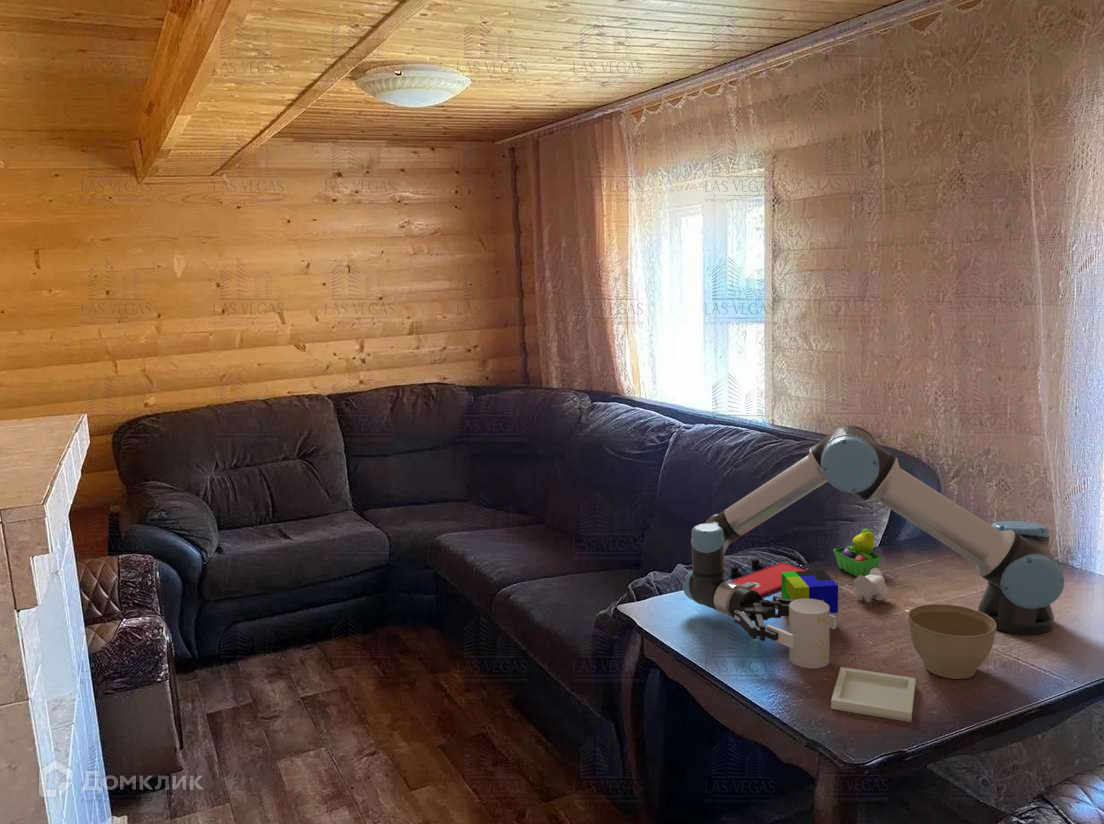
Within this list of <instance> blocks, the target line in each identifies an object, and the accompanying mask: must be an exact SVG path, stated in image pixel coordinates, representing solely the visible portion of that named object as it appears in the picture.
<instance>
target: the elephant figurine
mask: <svg viewBox="0 0 1104 824" xmlns="http://www.w3.org/2000/svg"><path fill="white" fill-rule="evenodd" d="M853 585H854V588H853V591H854V595H855V598H856V599H857V600H858V601H864V602H865V603H871V602H873V599H874V600H875V599H876V601H879V602H882V601H883V600H885V599H887V598H888V596H889V592H890V593H891V594H892V595H894V593H893V591H892V590H891V589H890V588H889V587H887V585H886V579H885V578H884V576H883V573H882V571H881V570H880V568H873V569H872V570H871V571H870V574H869V575H867V576H865V577H864V576H862V575H860V576H858V577H856V578H855V579H853Z"/></svg>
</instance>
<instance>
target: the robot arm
mask: <svg viewBox="0 0 1104 824" xmlns="http://www.w3.org/2000/svg"><path fill="white" fill-rule="evenodd" d="M825 483H829V484H830V485H831V486H832V487H834V488H835V489H837V490H838V491H840V492H845V493H851V494H853V495H855V496H857V497H858V498H860V499H861V500H863V501H864V502H872V501H877V502H878V503H880V504H882V505H883V506H884V507H886V508H888V509H889V510H891V511H893V512H894V513H896V514H897V515H899V516H900V517H902V518H903V519H905V520H907V521H908V522H909V523H911V524H913V525H914V526H915V527H917V528H919V529H920V530H922V531H923V532H925V533H926V534H927V535H930V536H931V537H933V538H934V539H936V540H938V541H940V542H941V543H942V544H944V545H945V546H946V547H948V548H950V549H952V550H953V551H955V552H956V553H957V554H960V555H961V556H962V557H964V558H965V559H966V560H969V561H970V562H971V563H973V564H975V566H976V573H977V574H978V575H979V576H980V577H982V578H983V579H985V580H986V581H987V586H986V588H985V590H984V593H983V596H982V597H981V600H980V602H979V605H978V609H977V611H980V612H982V613H984V614H986V615H988V616H989V617H991V618H992V619H993V620H994V621H995V622H996V631H997V630H998V631H1000V632H1005V633H1010V634H1017V635H1029V636H1030V635H1041V634H1045V633H1048V632H1051V631H1052V630H1053V629H1054V626H1055V616H1054V612H1053V609H1052V606H1051V604H1053V603H1054V602H1055V601H1057V600H1058V599H1059V597H1060V596H1061V594H1062V593H1063V591H1064V588H1065V577H1064V571H1063V568H1062V567H1061V565H1060V564H1059V562H1057V560H1056V558H1055V556H1054V554H1053V553H1052V552H1051V551H1050V547H1049V546H1050V545H1049V543H1050V539H1051V536H1050V530H1049V528H1048V527H1047V526H1046V525H1044V524H1041V523H1036V522H1030V521H1021V520H1020V521H1019V520H1000V521H995V522H993V523H992V524H989V523H988V522H986V521H985V520H983V519H981V518H980V517H979V516H977V515H975V514H974V513H972V512H970V511H969V510H967V509H966V508H964V507H963V506H961V505H959V504H958V503H956V502H955V501H953V500H952V499H950V498H948V497H946V496H945V495H944V494H942V493H941V492H939V491H937V490H936V489H934V488H932V487H931V486H929V485H928V484H926V483H924V482H923V481H921V480H920V479H918V478H916V476H913V475H912V474H911V473H908V472H907V471H906V470H904V469H903V468H901V466H900V465H899V460H898V457H897V456H895V455H893V454H892V453H890V452H889V451H888V450H885V449H884V448H882V447H881V446H880V445H878V443H877V441H876V439H875V438H874V435H872V434H871V432H869V431H868V430H867V429H865V428H864V427H862V426H861V427H860V426H858V425H844V426H840V427H838V428H836V429H834V430H833V431H832V432H830V433H829V434H828V435H827V436H825V437H824V438H823V439H821V441H819V442H818V443H816V444H815V445H813V446H812V447H810V448H809V451H808V455H806V456H805V457H803V458H801V459H800V460H799V461H797V462H795V463H794V464H793V465H791V466H790V467H787V468H786V469H785V470H783V471H781V473H779V474H777V475H776V476H774V477H773V478H771V479H770V480H768V481H766V482H765V483H764V484H762V485H760V486H759V487H758V488H756V489H754V490H753V491H751V492H750V493H748V494H747V495H746V496H744V497H742V498H741V499H740V500H738V501H736V502H734V503H733V504H732V505H730V506H729V507H727V508H725V509H724V510H723V511H721V512H720V513H716V514H713V515H711V516H710V517H709V518H707V519H706V520H705V522H704V523H700V524H697V525H695V526H694V527H692V529H691V539H690V545H691V563H692V564H691V565H692V566H691V567H692V569H691V570H690V571H689V572H688V573H686V575H685V577H684V581H683V582H682V589H683V593H684V594H685V596H686V597H687V598H688V599H689V600H692V601H694V602H695V603H696V604H699V605H702V606H704V607H707V608H710V609H712V610H715V611H717V612H719V613H722V614H725V615H726V616H728V617H731V618H733V619H734V621H733V622H734V623H735V624H737V625H739V626H740V627H741V628H742V629H743V631H745V632H746V633H747V635H748V636H749V637H750V638H751V639H752V640H758V637H759V641H760V642H765V641H766V638H767V640H768V639H769V640H771V641H774V642H776V643H778V644H781V645H783V646H785V647H788V648H789V647H790V648H792V647H794V635H793V634H791V633H789V631H786V630H783V629H781V628H779V627H777V626H773V625H771V624H767V625H766V624H765V621H768V620H769V619H781V618H782V617H785V616H788V617H789V604H790V602H792V601H794V600H793V599H786V598H782V596H778V595H774V596H772V600H769V599H764V598H763V597H761V596H760V594H759V593H758V592H757V591H755V590H752V589H749V588H747V587H744V586H742V585H739V584H736V583H733V582H730V581H731V580H727V579H726V578H725V554H726V551H727V549H728V547H729V545H730V544H732V543H733V542H735V541H736V540H737V539H739V538H742V536H743V535H745V534H747V533H748V532H750V531H751V530H753V529H754V528H756V527H757V526H759V525H761V524H762V523H764V522H765V521H768V519H770V518H771V517H773V516H776V514H778V513H780V512H781V511H784V510H785V509H787V508H788V507H789V506H791V505H792V504H794V503H796V502H798V501H799V500H800V499H802V498H803V497H805V496H806V495H808V494H809V493H812V492H813V491H815V490H816V489H818V488H819V487H821V486H823V485H824V484H825ZM776 610H777V612H776ZM830 629H832V630H835V629H837V626H836V616H833V615H831V614H830Z"/></svg>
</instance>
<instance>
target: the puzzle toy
mask: <svg viewBox="0 0 1104 824" xmlns="http://www.w3.org/2000/svg"><path fill="white" fill-rule="evenodd" d="M780 591H781V598H786V599H793V600H797V599H816V600H820V601H823V602H825V603H827V604H828V605H829V607H830V614H831V615H833V616H836V627H838V626H839V584H838V583H837V582H835V580H834V579H833V578H831V576H829V574H828V573H826V571H824V569H812V570H807V571H795V572H781V590H780ZM786 617H787V618H788V619H787V618H786ZM786 617H785V618H786V619H787V620H789V617H788V616H786Z"/></svg>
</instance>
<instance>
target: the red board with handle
mask: <svg viewBox="0 0 1104 824" xmlns="http://www.w3.org/2000/svg"><path fill="white" fill-rule="evenodd" d="M739 568H740V567H739V566H737V565H735V566H732V567H731V568H730V577H732V578H734V579H732V580H729V581H730V582H733V583H736V584H739V585H742V586H744V587H747V588H749V589H752V590H755V591H757V592H758V593H759V594H760V596H761V597H762V598H765V597H766V596H769V595H771V594H774V593H777V592H779V591H781V572H795V571H808V570H807V569H804V568H800V567H798V566H795V565H792V564H788V563H786V562H782V561H781V562H779V563H776V564H772V565H770V566H767V567H765V566H764V565H763V564H762V563H760V559H758V558H756V559H752V560H751V569H752V570H756V571H754V572H751V573H748V574H744V573H742V572H741V571H740V570H739ZM758 569H759V570H758ZM736 577H737V578H736Z"/></svg>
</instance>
